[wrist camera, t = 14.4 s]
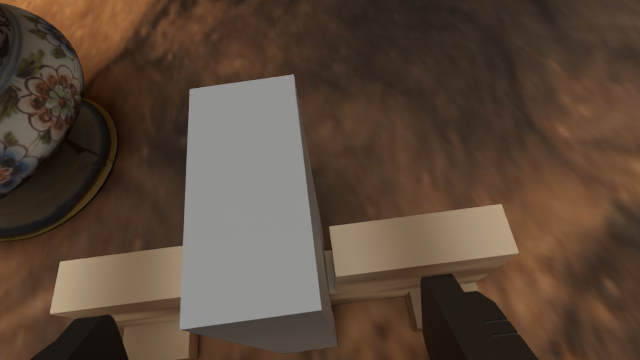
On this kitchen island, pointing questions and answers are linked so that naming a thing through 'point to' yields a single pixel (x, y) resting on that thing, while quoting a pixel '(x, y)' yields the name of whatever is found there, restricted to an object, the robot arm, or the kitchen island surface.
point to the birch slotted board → (341, 264)
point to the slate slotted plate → (253, 222)
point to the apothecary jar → (46, 129)
